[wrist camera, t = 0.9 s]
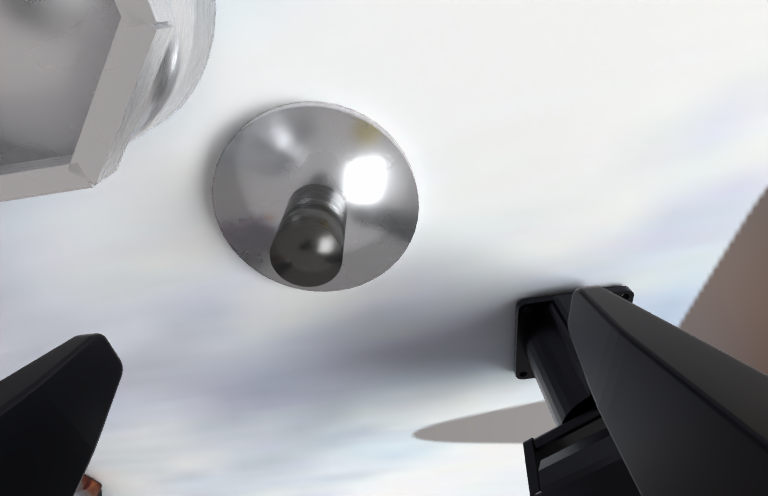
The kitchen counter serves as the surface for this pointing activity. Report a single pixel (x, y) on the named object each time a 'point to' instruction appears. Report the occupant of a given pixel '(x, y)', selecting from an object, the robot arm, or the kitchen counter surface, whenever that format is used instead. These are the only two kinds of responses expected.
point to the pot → (90, 84)
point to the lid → (316, 196)
